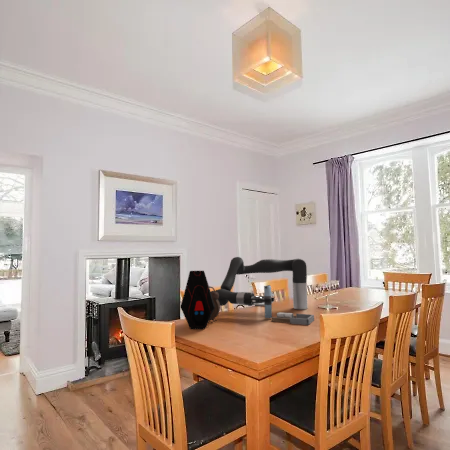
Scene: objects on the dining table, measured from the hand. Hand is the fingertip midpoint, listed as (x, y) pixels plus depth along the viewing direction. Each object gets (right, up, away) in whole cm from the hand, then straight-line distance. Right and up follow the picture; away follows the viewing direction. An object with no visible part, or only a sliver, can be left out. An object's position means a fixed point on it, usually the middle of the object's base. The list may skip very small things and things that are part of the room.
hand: (272, 300), depth 196 cm
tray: (+15, -10, -9) cm, 20 cm away
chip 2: (+9, -11, -5) cm, 15 cm away
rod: (-2, -10, +1) cm, 10 cm away
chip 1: (+5, -11, -3) cm, 12 cm away
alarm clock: (-37, -12, -4) cm, 39 cm away
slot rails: (+6, -11, -4) cm, 13 cm away
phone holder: (-1, -15, +49) cm, 52 cm away
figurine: (-41, -11, -17) cm, 46 cm away
